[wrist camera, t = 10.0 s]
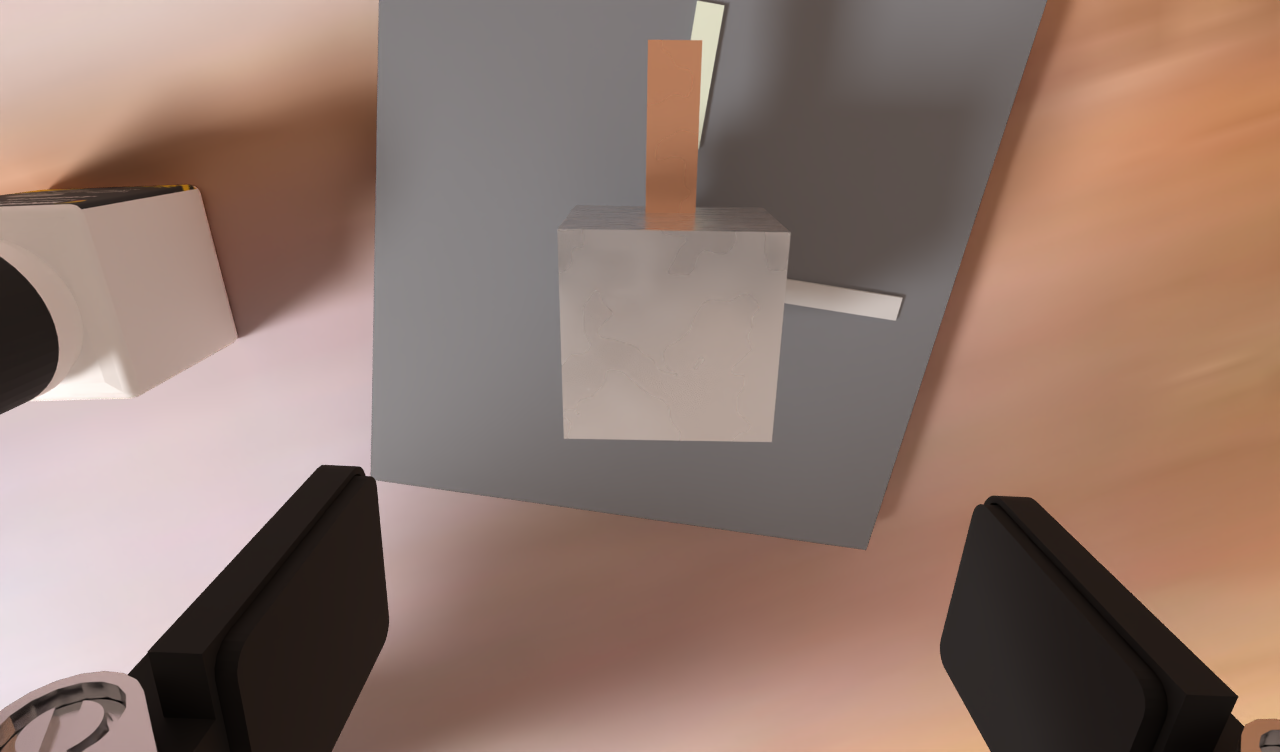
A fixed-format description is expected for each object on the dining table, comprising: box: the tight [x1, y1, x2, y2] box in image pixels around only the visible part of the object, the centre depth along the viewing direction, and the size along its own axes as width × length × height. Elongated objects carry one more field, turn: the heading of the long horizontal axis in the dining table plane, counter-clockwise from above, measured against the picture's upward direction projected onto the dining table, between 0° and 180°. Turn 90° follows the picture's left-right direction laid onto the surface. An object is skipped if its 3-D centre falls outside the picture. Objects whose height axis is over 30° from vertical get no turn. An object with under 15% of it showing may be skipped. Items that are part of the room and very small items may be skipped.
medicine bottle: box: [0, 185, 237, 414], centre depth 25 cm, size 7×7×12 cm
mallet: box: [557, 40, 791, 442], centre depth 21 cm, size 6×11×5 cm, turn 179°
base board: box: [371, 0, 1047, 550], centre depth 30 cm, size 24×24×2 cm
